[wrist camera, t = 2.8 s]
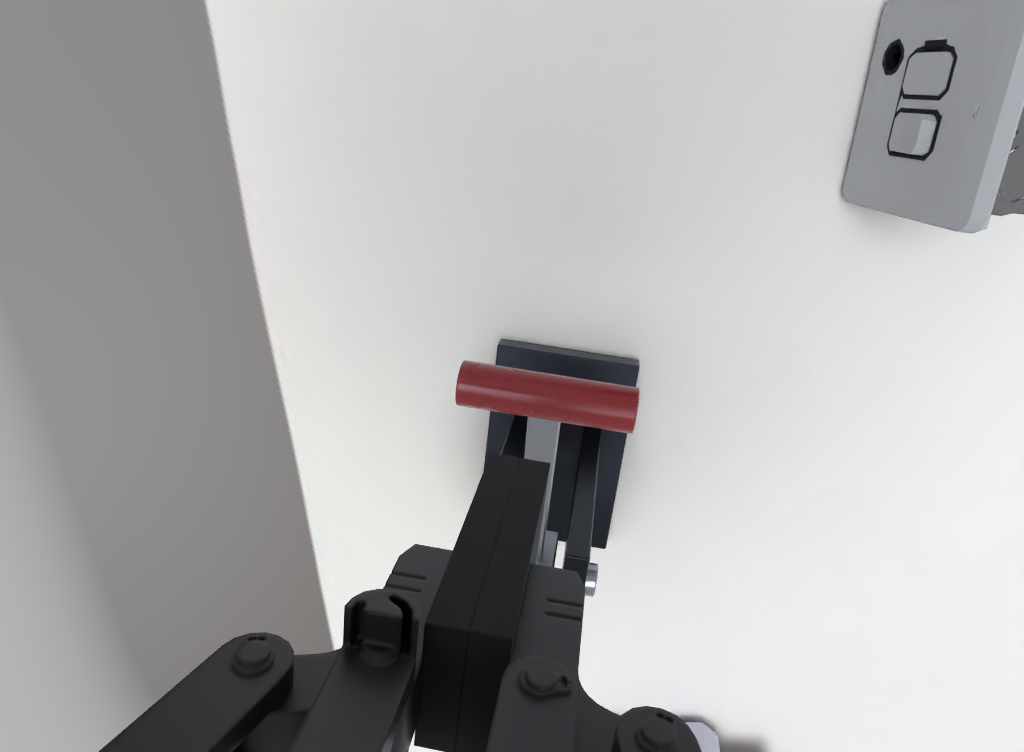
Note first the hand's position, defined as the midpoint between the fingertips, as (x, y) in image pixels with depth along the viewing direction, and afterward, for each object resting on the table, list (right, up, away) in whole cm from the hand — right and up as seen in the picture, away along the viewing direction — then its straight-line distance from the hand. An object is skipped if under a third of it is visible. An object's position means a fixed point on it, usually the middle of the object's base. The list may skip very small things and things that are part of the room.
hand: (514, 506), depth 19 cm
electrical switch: (+20, +17, +17) cm, 31 cm away
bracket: (+3, -1, +26) cm, 26 cm away
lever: (+1, -1, +11) cm, 12 cm away
